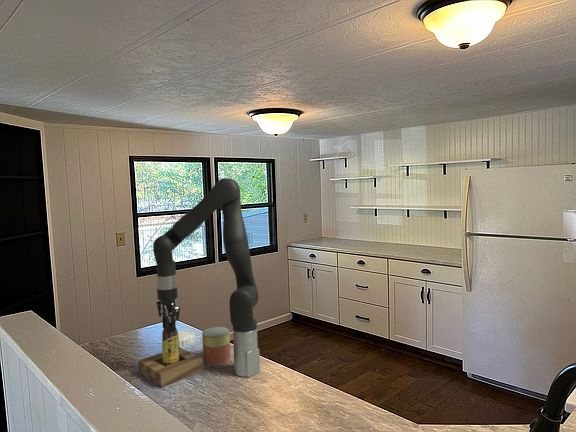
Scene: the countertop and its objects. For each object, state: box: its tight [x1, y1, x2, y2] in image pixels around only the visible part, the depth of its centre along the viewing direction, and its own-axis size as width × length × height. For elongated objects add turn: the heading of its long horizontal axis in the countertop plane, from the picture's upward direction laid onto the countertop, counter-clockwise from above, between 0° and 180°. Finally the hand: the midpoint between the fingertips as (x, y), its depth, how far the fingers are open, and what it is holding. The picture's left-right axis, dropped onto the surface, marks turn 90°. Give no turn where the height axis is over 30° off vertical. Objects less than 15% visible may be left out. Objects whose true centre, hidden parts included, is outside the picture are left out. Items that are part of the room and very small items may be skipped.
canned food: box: [201, 326, 231, 367], centre depth 178 cm, size 11×11×12 cm
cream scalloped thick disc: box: [177, 330, 196, 348], centre depth 199 cm, size 12×12×4 cm
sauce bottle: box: [161, 313, 179, 367], centre depth 166 cm, size 6×6×20 cm
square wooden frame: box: [137, 347, 204, 388], centre depth 167 cm, size 18×18×5 cm
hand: (169, 329), depth 166 cm, fingers closed on sauce bottle, 4 cm apart
